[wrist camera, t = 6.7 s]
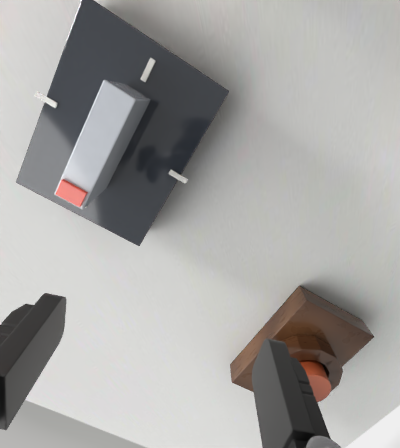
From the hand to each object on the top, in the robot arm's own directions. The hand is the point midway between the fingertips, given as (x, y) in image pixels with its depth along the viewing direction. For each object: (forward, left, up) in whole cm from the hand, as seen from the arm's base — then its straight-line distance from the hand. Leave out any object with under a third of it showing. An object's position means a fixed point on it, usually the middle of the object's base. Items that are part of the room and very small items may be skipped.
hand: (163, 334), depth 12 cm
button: (+7, +17, -11) cm, 21 cm away
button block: (+7, +17, -15) cm, 23 cm away
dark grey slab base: (-3, -7, -15) cm, 16 cm away
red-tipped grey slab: (-3, -7, -12) cm, 14 cm away
